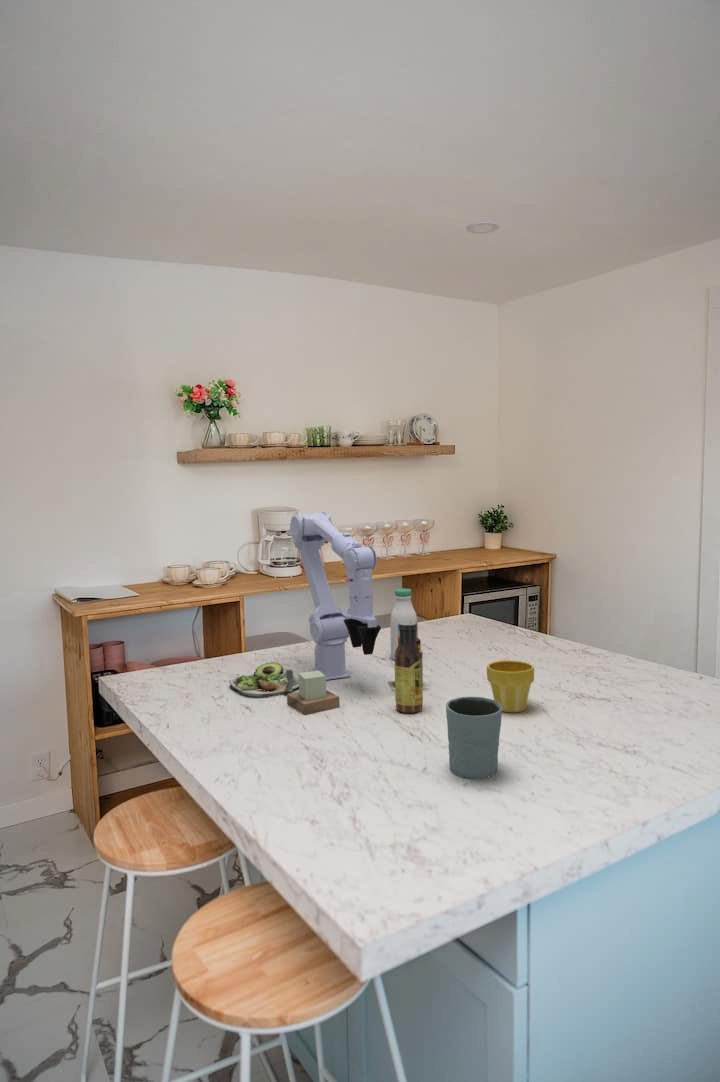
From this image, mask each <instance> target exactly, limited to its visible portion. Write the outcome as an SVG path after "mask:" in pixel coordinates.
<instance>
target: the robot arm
mask: <svg viewBox="0 0 720 1082" xmlns="http://www.w3.org/2000/svg"><path fill="white" fill-rule="evenodd" d="M289 525H290V526H289V531H290V534H291V538H292V541H293V544H294V548H295V549H298V551H299V555H300V559H301V561H302V565H303V570H304V573H305V575H306V579H307V584H308V587H309V591H310V593H311V597H312V602H313V604H314V607H315V609H314V611H312V613H311V614H310V615H309V618H308V623H309V633H310V637H311V639H312V640H313V642H314V643H315V646H314V666H315V667H314V669H311V672H312V671H320V672H321V673H323V674H324V675H325V676H326V681H329V680H335V679H342V678H343V679H344V678H349V677H352V674H351V673H350V672H348V671H346V642H348V638H349V639H350V642H351V645H352V648H362V652H363V655H365V656H368V655H373V654H374V649H375V645H376V640H377V637H378V635H379V633H380V631H381V629H382V627H381V625H379V624H378V622H377V621H378V620H377V618H376V617H375V616H376V615H375V613H374V603H373V600H374V597H373V596H374V595H373V591H374V589H373V569H374V568H375V567H376V565H377V561H378V560H377V559H378V557H377V553H376V551H375V549H374V548H373V547H372V546H371V545H362V544H361V543H360V542H359V541H358V540H356V539H355V538H354V537H353V536H351V534H350V533H349V532H341V531H339V530H338V529H337V528H336V526H335V525H334V524H333V522H332V517H331V516H330V515H329V514H328V513H327V512H324V511H322V512H315V513H314V512H313V513H300V514H299V513H295V514H293V515H292V517H291V519H290V524H289ZM326 541H327V542H328V543H330V546H331V550H332V551H333V552H334V553H335V554H336V555H337V556H338V557H340V558H341V559H342V561H343V565H344V568H345V571H346V572H345V573H346V578H348V591H349V592H348V597H349V608H347V613H346V612H345V609H344V608H342V607H340V606H339V605H337V604H335V601H334V598H333V595H332V591H331V587H330V585H329V581H328V578H327V577H328V576H327V574H326V571H325V567H324V565H323V564H324V563H323V560H322V557H321V554H320V548H321V547H322V546H324V545H325V543H326Z"/></svg>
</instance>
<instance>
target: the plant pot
mask: <svg viewBox="0 0 720 1082" xmlns="http://www.w3.org/2000/svg"><path fill="white" fill-rule="evenodd" d="M486 679H487V682H488V683H490V687H491V692H492V696H493V699H494V701H496V702H498V703H500V705H501V706H502V713H503V712H505V713H520V712H521V713H522V712H524V711H525V710H526V709H527V706H528V705H527V703H528V700H529V694H530V691H531V690H530V689H531V686H532V685H531V684H532V683H534V681H535V666H534V665H533V664H531V663H530V662H527V661H523V660H522V661H521V660H515V659H514V660H513V659H512V660H509V659H508V660H507V659H506V660H505V659H504V660H495V661H491V662H490V663H488V664H487V665H486Z"/></svg>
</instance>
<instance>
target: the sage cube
mask: <svg viewBox="0 0 720 1082" xmlns="http://www.w3.org/2000/svg"><path fill="white" fill-rule="evenodd" d="M297 674H298V678H299V687H298V692H299V695H301V696H302V697H303V698H304V699H305V700H311V699H318V698H324V697H326V690H327V680H326V676H325V675H324V674H323V673H321V672H320V671H312V670H311V671H306V672H305V671H304V672H299V673H297Z"/></svg>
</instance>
